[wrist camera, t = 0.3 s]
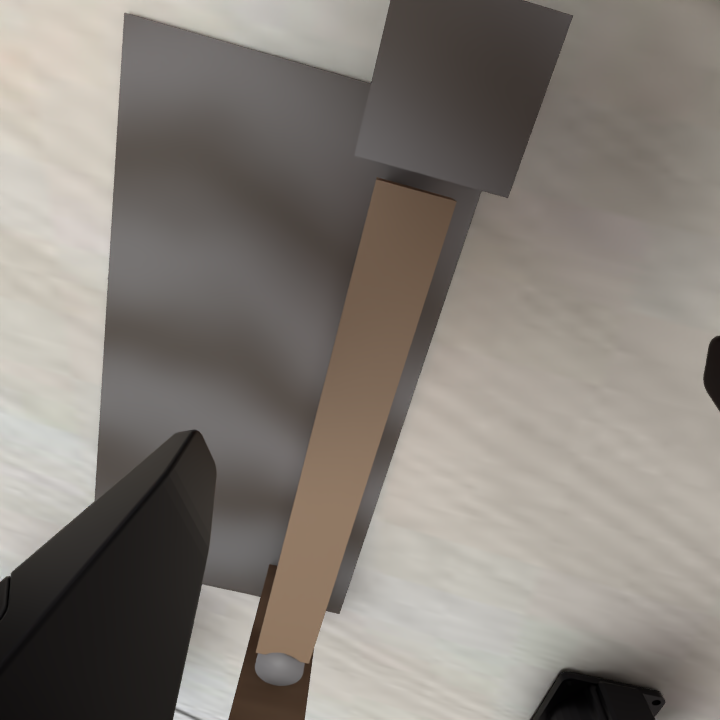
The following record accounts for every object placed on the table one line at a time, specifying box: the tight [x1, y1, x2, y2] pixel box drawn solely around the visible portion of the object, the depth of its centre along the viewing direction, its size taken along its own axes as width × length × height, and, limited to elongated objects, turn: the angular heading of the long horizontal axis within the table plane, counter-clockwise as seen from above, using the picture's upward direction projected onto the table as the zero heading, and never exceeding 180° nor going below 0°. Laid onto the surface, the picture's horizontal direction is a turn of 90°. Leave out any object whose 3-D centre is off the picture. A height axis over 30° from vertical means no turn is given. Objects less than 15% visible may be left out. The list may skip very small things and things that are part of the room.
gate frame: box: [95, 0, 573, 720], centre depth 19 cm, size 28×14×10 cm, turn 166°
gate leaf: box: [255, 177, 457, 686], centre depth 20 cm, size 20×2×6 cm, turn 166°
